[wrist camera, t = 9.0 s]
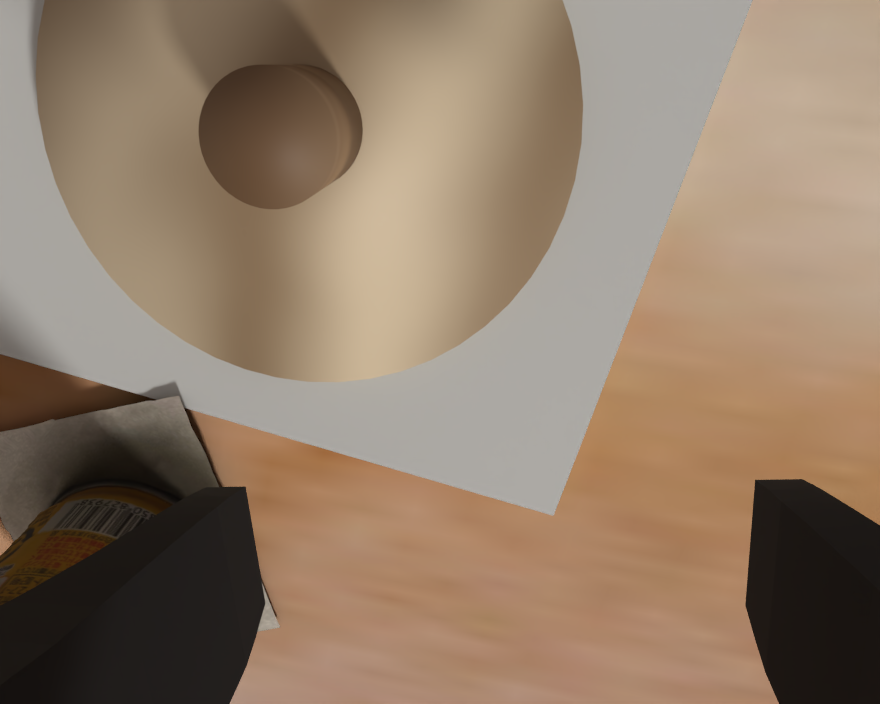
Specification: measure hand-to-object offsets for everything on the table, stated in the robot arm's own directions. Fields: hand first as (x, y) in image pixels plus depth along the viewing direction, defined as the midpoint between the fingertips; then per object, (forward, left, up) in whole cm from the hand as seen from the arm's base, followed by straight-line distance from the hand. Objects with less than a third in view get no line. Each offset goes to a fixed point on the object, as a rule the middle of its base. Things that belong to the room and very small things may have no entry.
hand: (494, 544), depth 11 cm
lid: (+6, -4, -10) cm, 12 cm away
